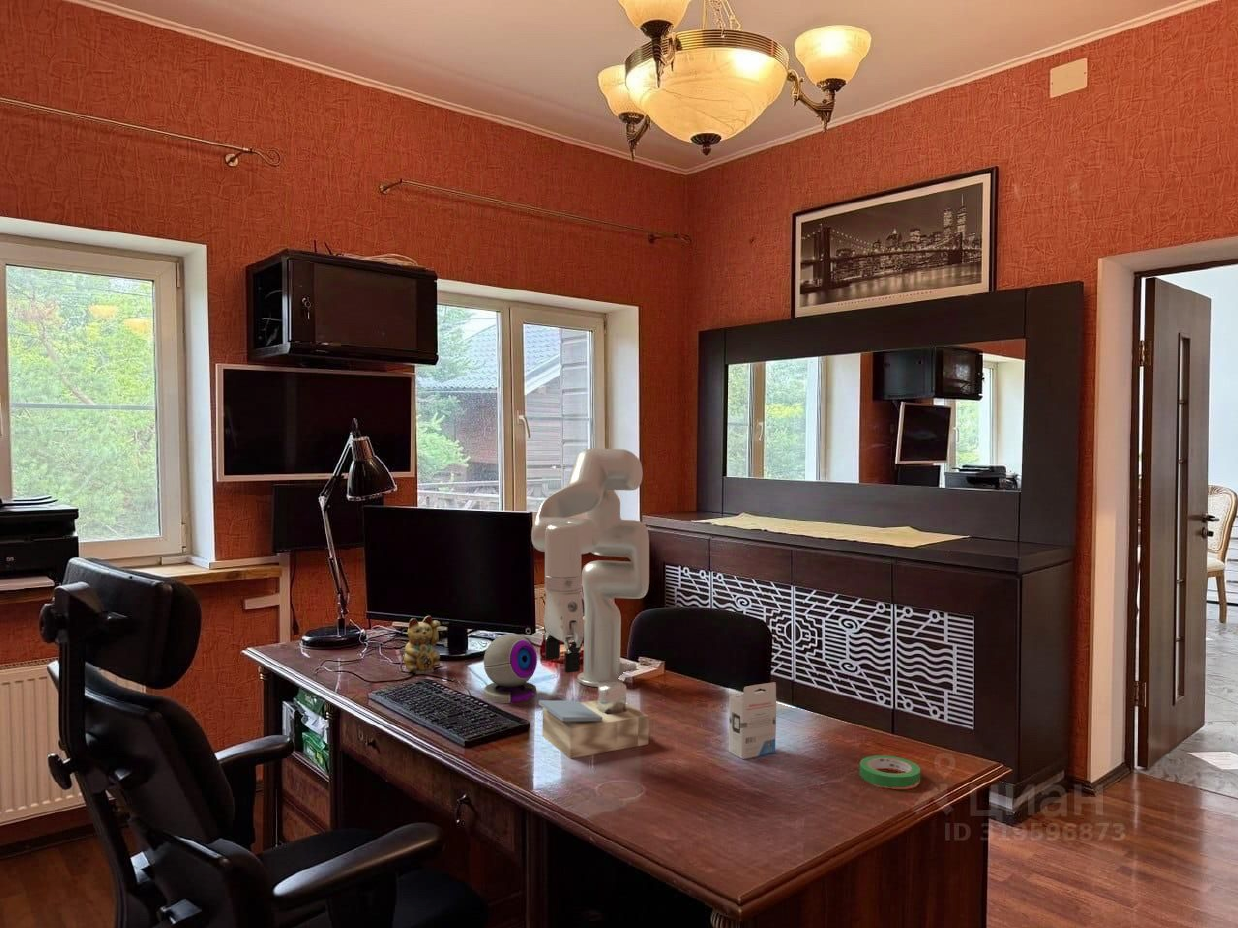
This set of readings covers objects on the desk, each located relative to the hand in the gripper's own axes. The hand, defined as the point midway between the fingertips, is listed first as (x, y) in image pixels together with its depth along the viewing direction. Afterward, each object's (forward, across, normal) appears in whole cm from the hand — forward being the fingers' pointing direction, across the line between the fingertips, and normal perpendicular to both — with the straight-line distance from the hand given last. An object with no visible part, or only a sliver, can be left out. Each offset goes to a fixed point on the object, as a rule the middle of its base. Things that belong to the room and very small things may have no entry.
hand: (562, 665), depth 177 cm
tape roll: (+17, -43, -49) cm, 68 cm away
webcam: (+18, +36, -2) cm, 40 cm away
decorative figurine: (+18, +66, +12) cm, 70 cm away
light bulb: (+16, -1, -11) cm, 20 cm away
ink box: (+17, -21, -33) cm, 43 cm away
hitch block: (+17, -1, -7) cm, 18 cm away
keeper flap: (+10, -1, -2) cm, 10 cm away
